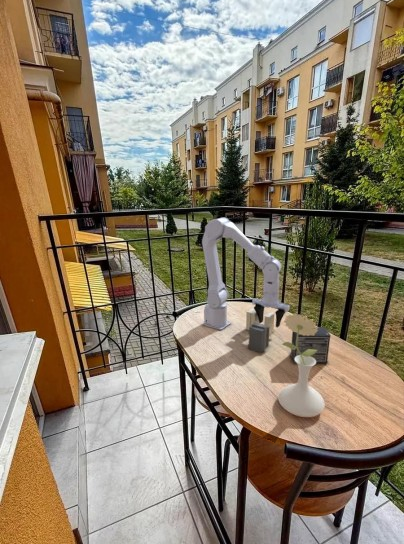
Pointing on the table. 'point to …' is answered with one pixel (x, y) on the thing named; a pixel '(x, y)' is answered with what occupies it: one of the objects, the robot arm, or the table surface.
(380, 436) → the table surface
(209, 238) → the robot arm
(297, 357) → the flower in vase
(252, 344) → the grey books
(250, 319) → the cream books
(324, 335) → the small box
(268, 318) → the cream book
